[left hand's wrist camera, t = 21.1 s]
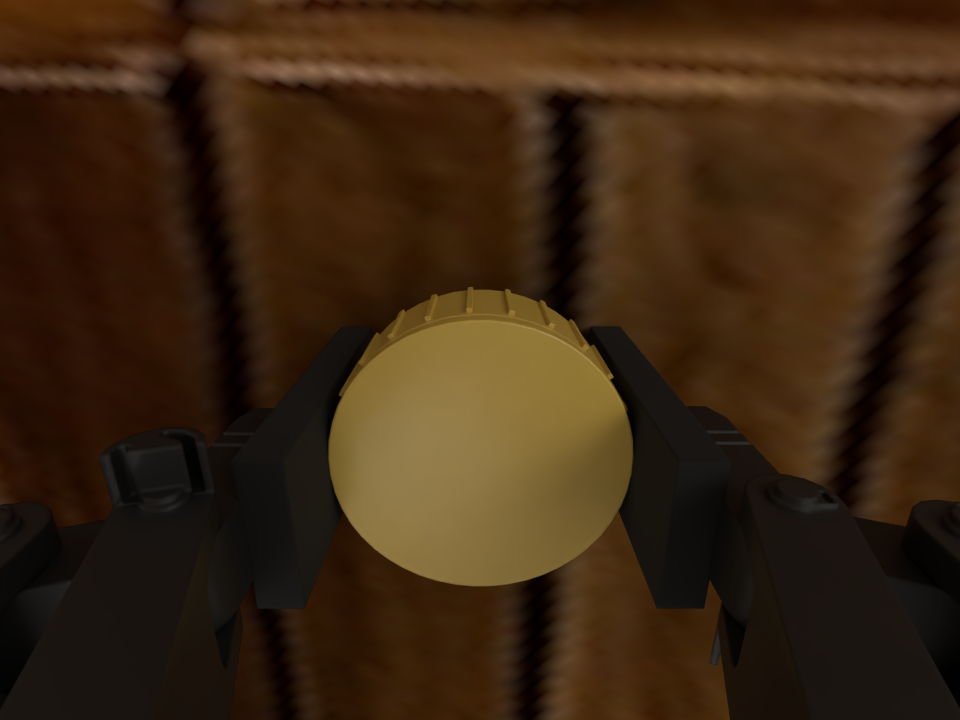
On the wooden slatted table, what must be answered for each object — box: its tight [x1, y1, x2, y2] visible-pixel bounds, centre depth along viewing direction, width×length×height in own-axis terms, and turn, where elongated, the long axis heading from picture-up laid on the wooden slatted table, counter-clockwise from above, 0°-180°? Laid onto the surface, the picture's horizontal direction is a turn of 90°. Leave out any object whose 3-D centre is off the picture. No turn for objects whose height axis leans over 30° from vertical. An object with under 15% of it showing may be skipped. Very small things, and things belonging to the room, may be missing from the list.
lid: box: [328, 287, 634, 586], centre depth 11 cm, size 6×6×2 cm
